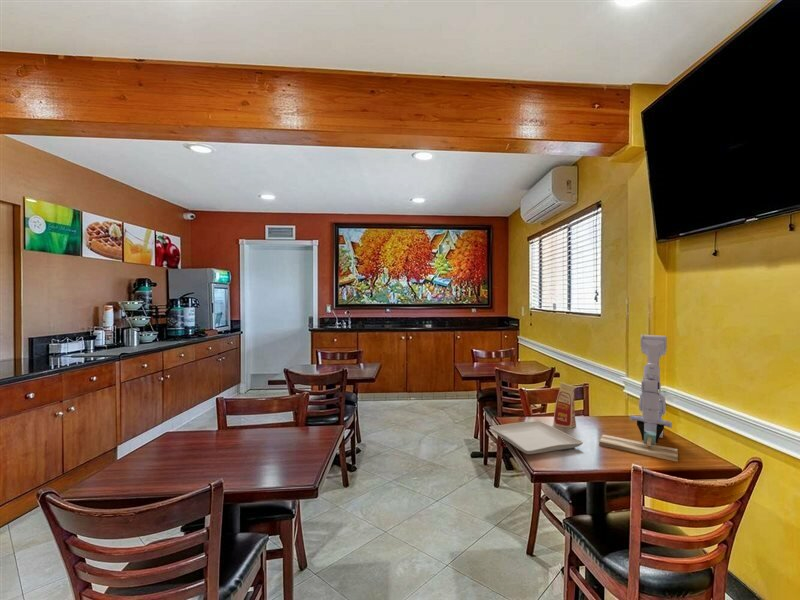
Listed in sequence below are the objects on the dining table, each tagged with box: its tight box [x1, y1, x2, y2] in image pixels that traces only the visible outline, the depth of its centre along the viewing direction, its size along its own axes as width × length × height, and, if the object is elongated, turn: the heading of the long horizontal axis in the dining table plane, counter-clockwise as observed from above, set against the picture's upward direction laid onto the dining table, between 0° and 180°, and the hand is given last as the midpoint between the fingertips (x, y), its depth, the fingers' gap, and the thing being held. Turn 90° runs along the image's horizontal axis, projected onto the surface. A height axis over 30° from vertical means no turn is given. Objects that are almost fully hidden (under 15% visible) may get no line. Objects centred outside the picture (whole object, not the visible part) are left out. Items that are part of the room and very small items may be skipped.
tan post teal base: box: [643, 430, 657, 447], centre depth 154 cm, size 12×4×5 cm, turn 144°
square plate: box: [489, 420, 584, 455], centre depth 159 cm, size 27×27×4 cm
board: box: [598, 434, 679, 463], centre depth 152 cm, size 10×26×2 cm, turn 54°
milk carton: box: [552, 381, 577, 429], centre depth 181 cm, size 9×9×20 cm
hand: (650, 441), depth 156 cm, fingers closed on tan post teal base, 4 cm apart
